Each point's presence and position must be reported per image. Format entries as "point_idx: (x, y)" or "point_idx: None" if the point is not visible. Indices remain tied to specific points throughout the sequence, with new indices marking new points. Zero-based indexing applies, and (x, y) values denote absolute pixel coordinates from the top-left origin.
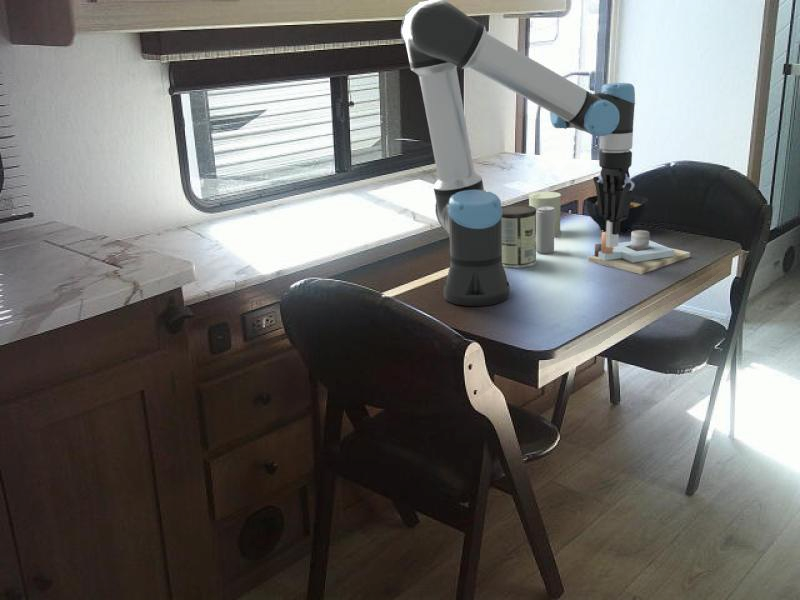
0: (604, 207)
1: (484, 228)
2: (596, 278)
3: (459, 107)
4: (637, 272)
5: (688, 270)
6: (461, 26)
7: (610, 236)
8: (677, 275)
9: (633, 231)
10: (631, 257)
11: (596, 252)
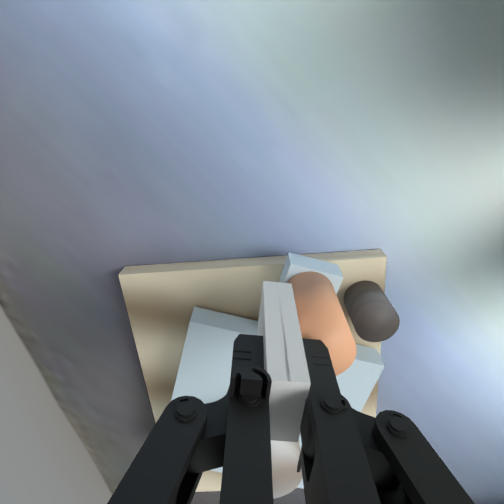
0: (374, 486)
1: None
2: (190, 94)
3: None
4: (139, 266)
5: (73, 392)
6: None
7: (263, 317)
8: (48, 337)
9: (296, 468)
10: (199, 319)
11: (368, 288)
